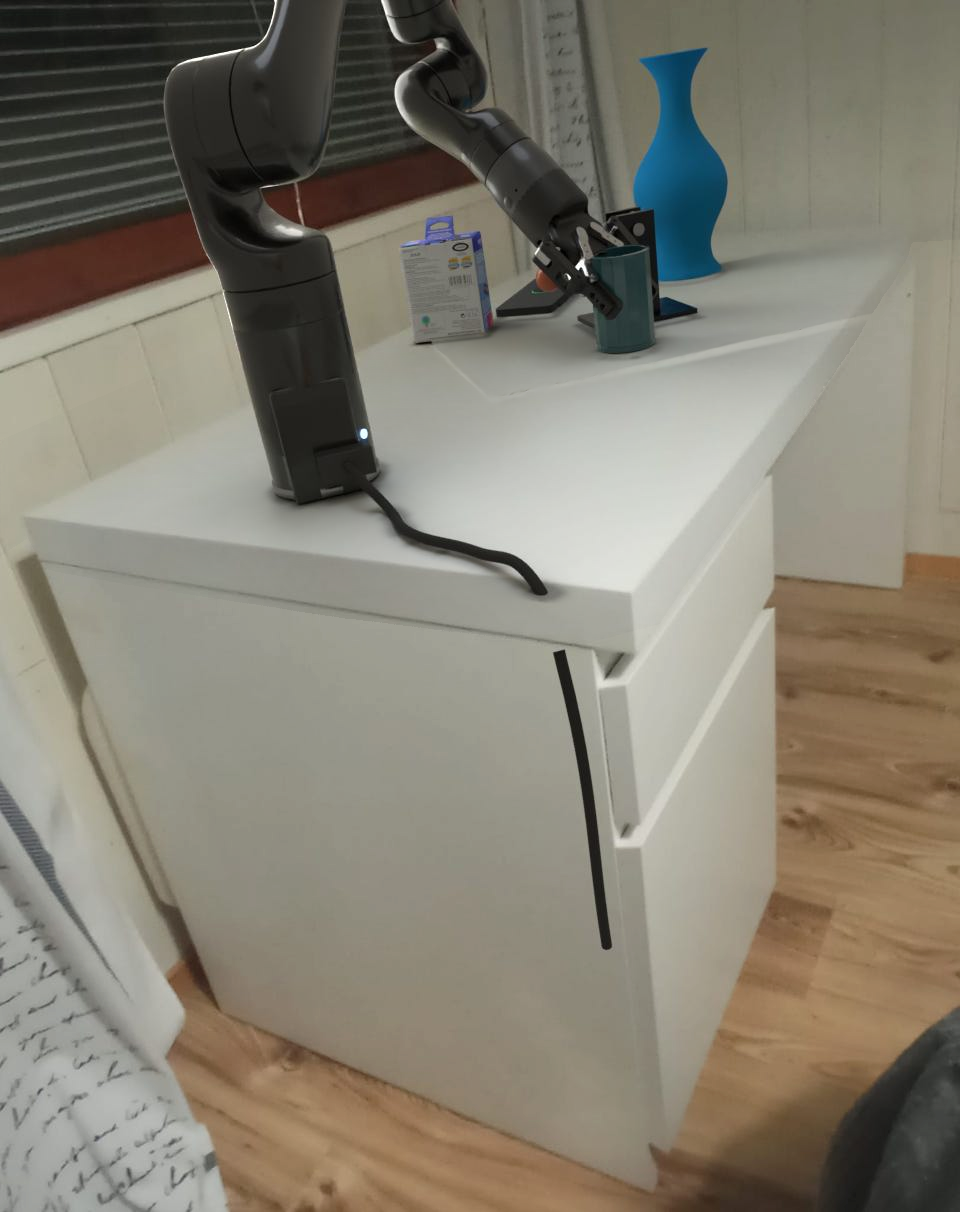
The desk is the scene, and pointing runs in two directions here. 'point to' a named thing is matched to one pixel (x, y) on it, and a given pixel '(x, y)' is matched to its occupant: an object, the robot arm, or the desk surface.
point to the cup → (626, 299)
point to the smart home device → (532, 301)
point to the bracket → (644, 234)
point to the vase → (680, 175)
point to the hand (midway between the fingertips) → (635, 305)
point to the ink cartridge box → (446, 283)
